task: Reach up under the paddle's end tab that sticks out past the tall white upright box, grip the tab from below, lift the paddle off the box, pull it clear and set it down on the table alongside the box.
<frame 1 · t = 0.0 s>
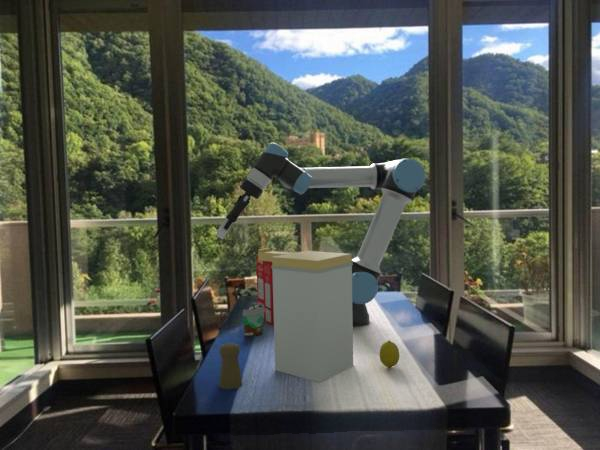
hand: (219, 235, 179), 36 cm above the table, tool tilted 35°, fingers open, 13 cm apart
lemon: (389, 369, 149), on the table
food container: (256, 334, 187), on the table
food packaging: (271, 321, 205), on the table
cork: (230, 385, 139), on the table
tall white upright box: (314, 367, 151), on the table
paddle: (312, 264, 149), point 30 cm above the table, touching tall white upright box
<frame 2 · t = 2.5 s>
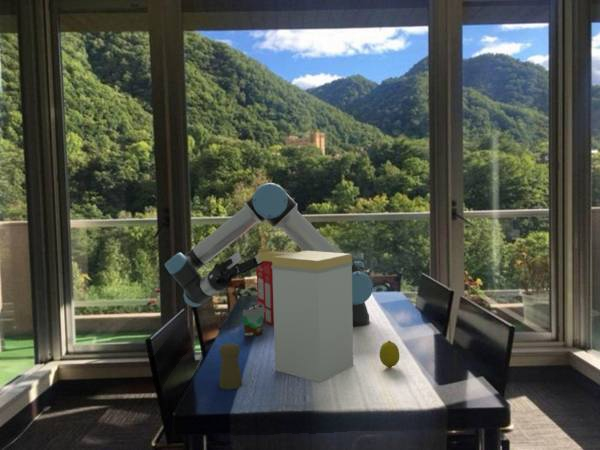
hand: (255, 253, 166), 31 cm above the table, tool pointing upward, fingers open, 13 cm apart
nothing on the table moved.
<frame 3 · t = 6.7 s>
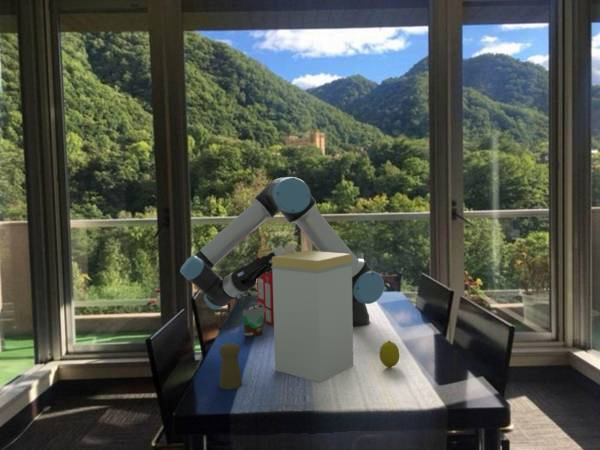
hand: (288, 248, 154), 34 cm above the table, tool pointing upward, fingers closed on paddle, 4 cm apart
paddle: (312, 264, 149), point 30 cm above the table, touching gripper, tall white upright box
everything else where it was.
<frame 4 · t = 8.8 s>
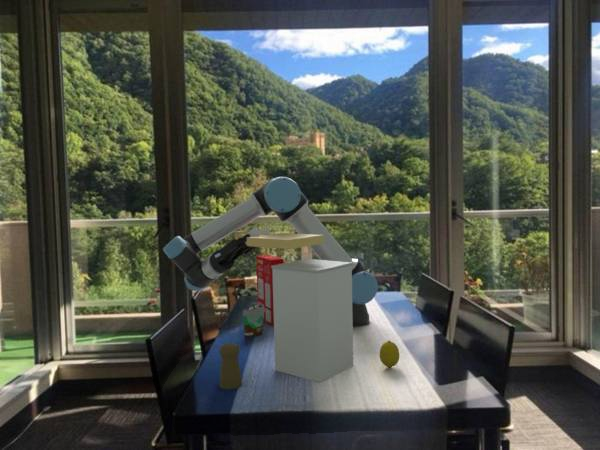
hand: (263, 230, 160), 39 cm above the table, tool pointing upward, fingers closed on paddle, 4 cm apart
paddle: (285, 244, 154), point 35 cm above the table, touching gripper
everything else where it was.
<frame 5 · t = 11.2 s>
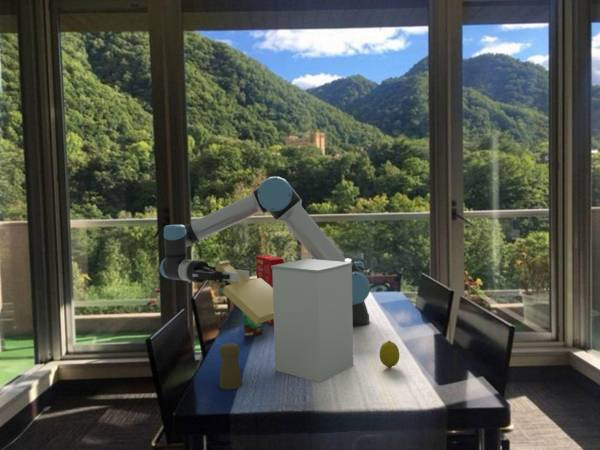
hand: (243, 276, 166), 24 cm above the table, tool horizontal, fingers closed on paddle, 4 cm apart
paddle: (257, 302, 163), point 16 cm above the table, tilted 29°, touching gripper
everything else where it was.
when the fingers open (13 cm above the table, at t = 14.2 s): paddle drops 5 cm, on the table.
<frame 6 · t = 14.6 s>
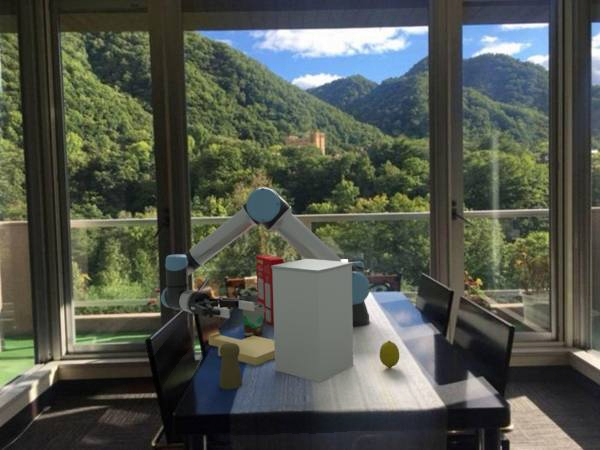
hand: (241, 310, 168), 13 cm above the table, tool horizontal, fingers open, 10 cm apart
paddle: (254, 353, 166), on the table
everything else where it was.
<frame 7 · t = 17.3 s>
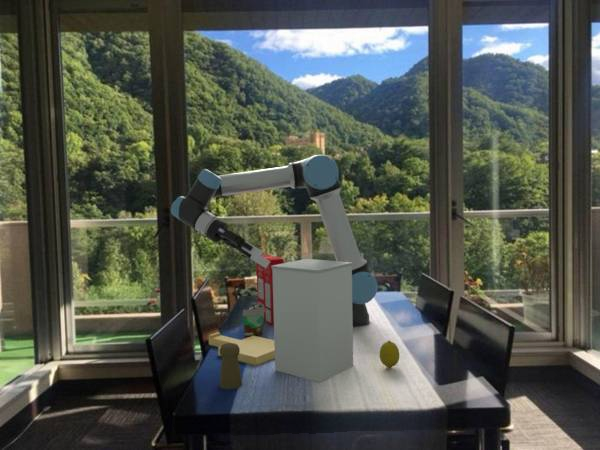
hand: (264, 260, 169), 29 cm above the table, tool tilted 60°, fingers open, 13 cm apart
nothing on the table moved.
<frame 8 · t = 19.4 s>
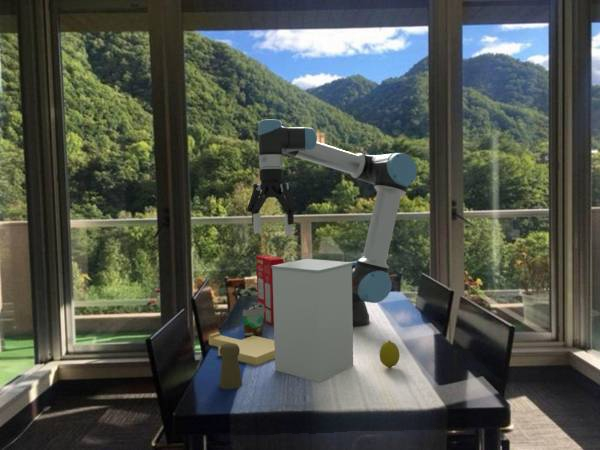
hand: (272, 234, 171), 37 cm above the table, tool pointing down, fingers open, 13 cm apart
nothing on the table moved.
at the end: paddle touching table; paddle on the table; paddle moved 38.3 cm from its start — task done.
